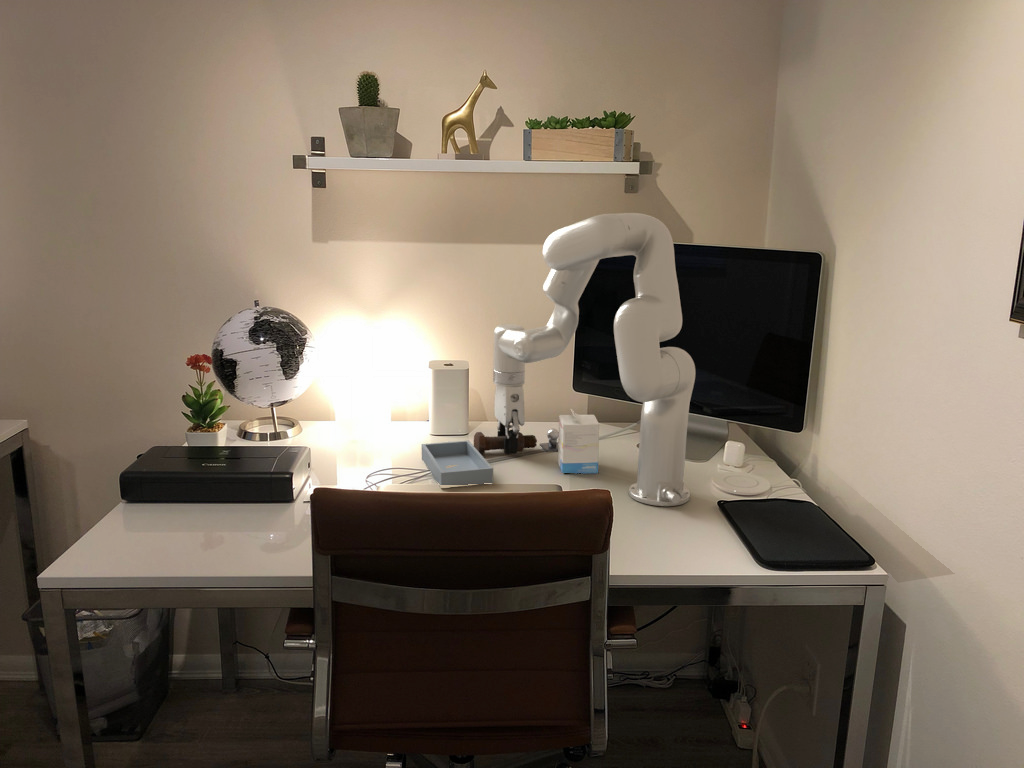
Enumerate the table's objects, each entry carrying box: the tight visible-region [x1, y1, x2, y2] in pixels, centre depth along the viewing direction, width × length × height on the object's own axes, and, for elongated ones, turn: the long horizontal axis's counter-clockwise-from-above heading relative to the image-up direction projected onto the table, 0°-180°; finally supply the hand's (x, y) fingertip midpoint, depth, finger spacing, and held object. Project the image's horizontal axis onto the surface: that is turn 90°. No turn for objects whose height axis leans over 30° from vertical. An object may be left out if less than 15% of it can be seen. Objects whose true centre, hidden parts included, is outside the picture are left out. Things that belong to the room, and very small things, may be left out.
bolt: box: [473, 431, 538, 455], centre depth 200 cm, size 6×5×15 cm
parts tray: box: [421, 440, 494, 485], centre depth 187 cm, size 20×11×4 cm, turn 18°
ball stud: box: [539, 428, 559, 453], centre depth 204 cm, size 5×5×5 cm
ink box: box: [557, 408, 600, 475], centre depth 189 cm, size 9×8×13 cm
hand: (507, 449), depth 201 cm, fingers closed on bolt, 4 cm apart
